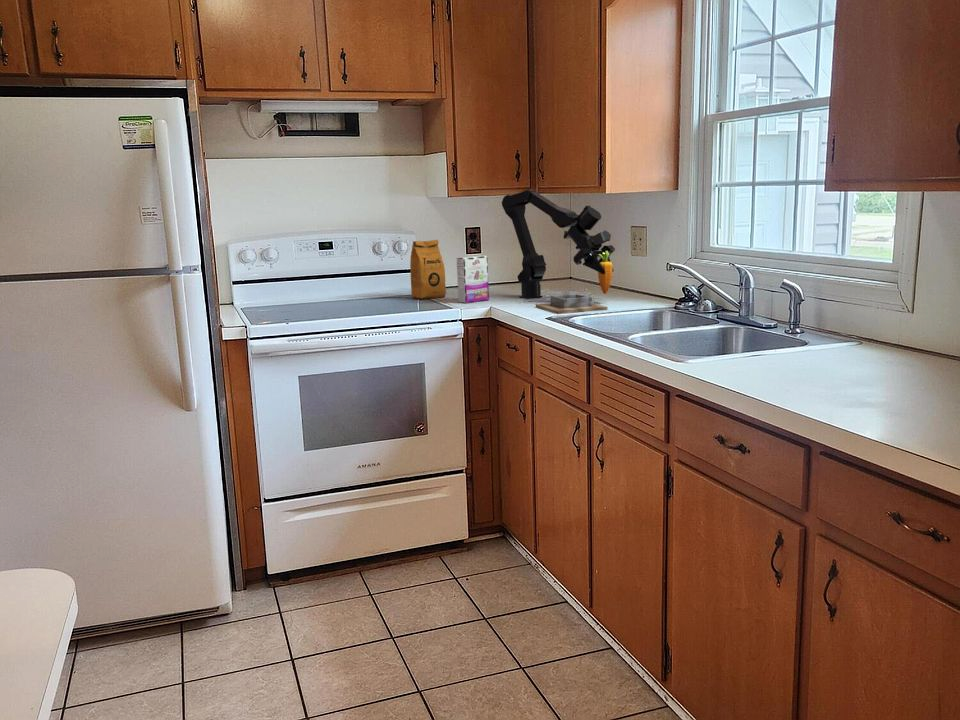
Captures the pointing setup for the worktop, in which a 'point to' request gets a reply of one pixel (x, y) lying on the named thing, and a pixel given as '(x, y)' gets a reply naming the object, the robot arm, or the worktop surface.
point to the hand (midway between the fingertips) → (608, 272)
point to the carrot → (605, 278)
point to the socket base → (570, 304)
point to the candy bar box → (472, 279)
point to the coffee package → (427, 270)
